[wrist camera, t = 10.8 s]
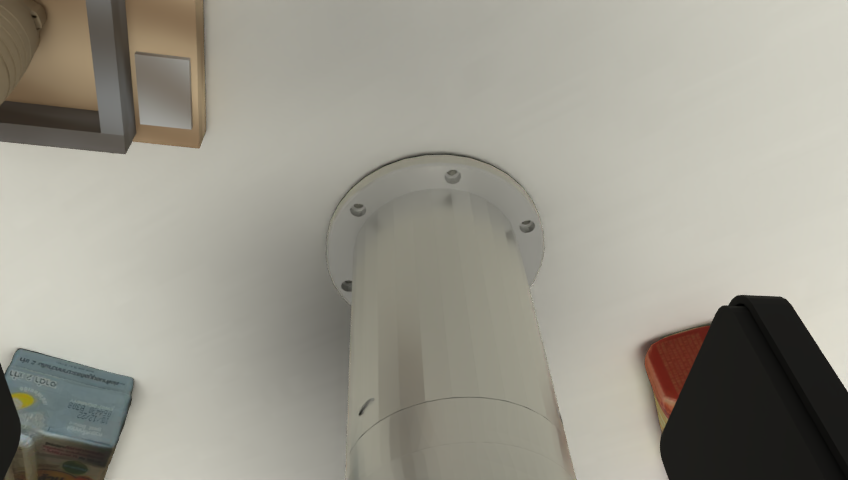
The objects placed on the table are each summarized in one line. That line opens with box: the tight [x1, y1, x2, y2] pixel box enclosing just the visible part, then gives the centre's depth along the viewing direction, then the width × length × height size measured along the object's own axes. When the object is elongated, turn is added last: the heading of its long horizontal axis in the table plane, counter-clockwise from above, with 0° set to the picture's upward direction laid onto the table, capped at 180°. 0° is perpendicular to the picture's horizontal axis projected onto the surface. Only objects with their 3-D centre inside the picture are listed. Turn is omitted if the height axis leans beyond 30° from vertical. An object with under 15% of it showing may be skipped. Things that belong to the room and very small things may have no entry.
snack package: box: [645, 325, 711, 432], centre depth 53 cm, size 21×7×7 cm, turn 19°
